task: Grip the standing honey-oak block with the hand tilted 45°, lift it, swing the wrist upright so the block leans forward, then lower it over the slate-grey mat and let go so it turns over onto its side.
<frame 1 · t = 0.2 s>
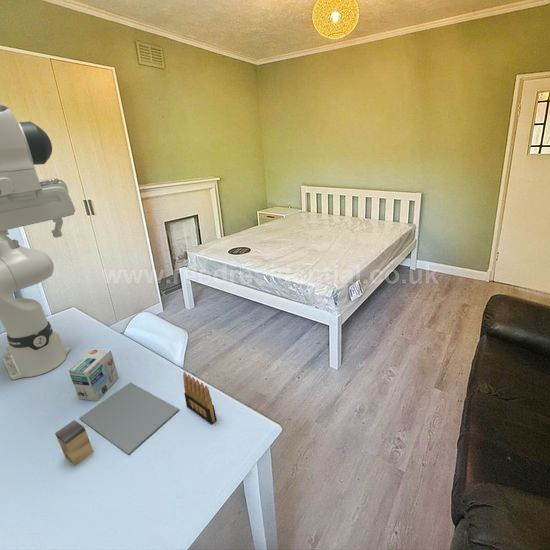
hand: (37, 242, 79), 48 cm above the table, tool pointing down, fingers open, 8 cm apart
slate mat: (129, 414, 90), on the table
ammunition clip: (201, 413, 89), on the table
light bulb box: (100, 388, 101), on the table
oak block: (79, 454, 79), on the table
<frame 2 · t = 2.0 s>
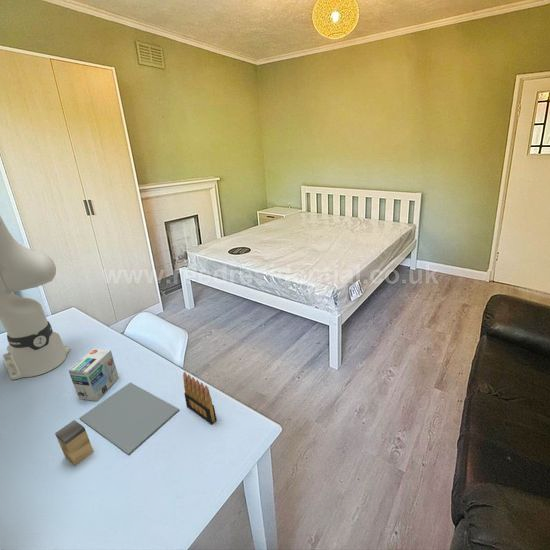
nothing on the table moved.
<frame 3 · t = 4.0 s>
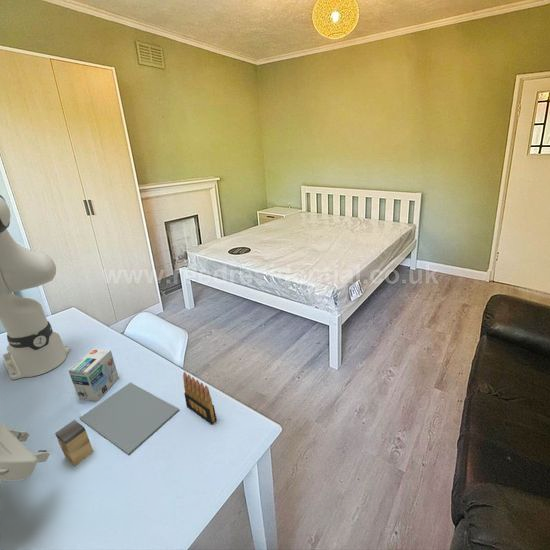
hand: (36, 445, 71), 10 cm above the table, tool tilted 45°, fingers open, 8 cm apart
nothing on the table moved.
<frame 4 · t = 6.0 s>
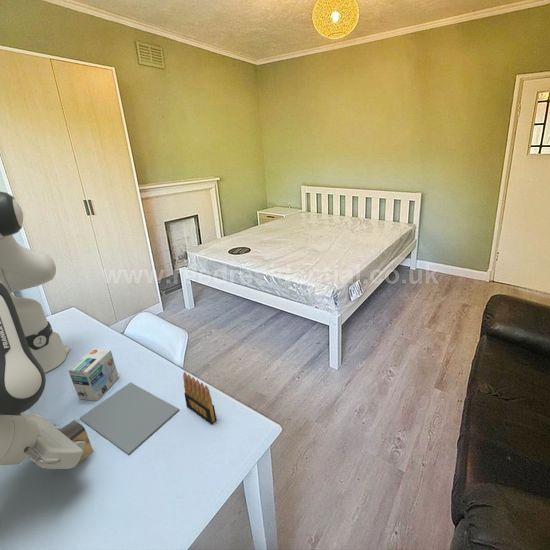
hand: (76, 439, 78), 4 cm above the table, tool tilted 45°, fingers closed on oak block, 4 cm apart
oak block: (79, 454, 79), on the table, touching gripper
everything else where it was.
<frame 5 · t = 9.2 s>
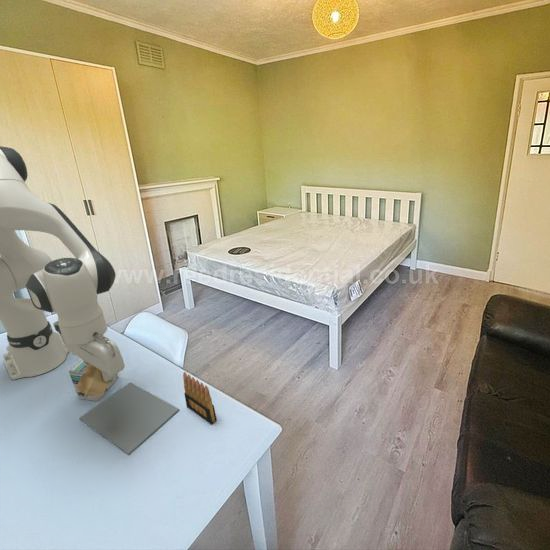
hand: (100, 374, 81), 17 cm above the table, tool pointing down, fingers closed on oak block, 4 cm apart
oak block: (89, 392, 79), point 14 cm above the table, tilted 44°, touching gripper
everything else where it was.
when the fingers open (6 cm above the table, at t = 11.8 s): oak block moves 2 cm and tips over, resting on slate mat.
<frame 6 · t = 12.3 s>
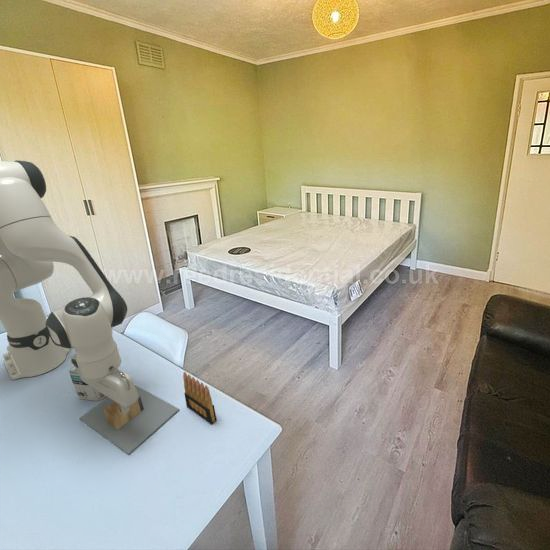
hand: (114, 404, 85), 6 cm above the table, tool pointing down, fingers open, 8 cm apart
oak block: (110, 419, 85), point 3 cm above the table, tilted 90°, touching slate mat
everything else where it was.
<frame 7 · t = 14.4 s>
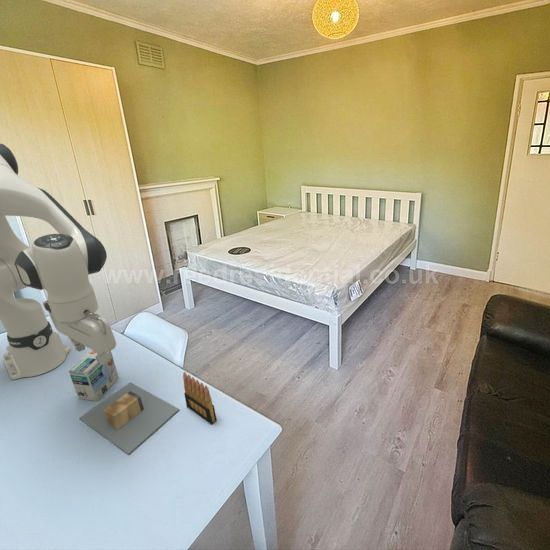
hand: (91, 355, 80), 22 cm above the table, tool pointing down, fingers open, 8 cm apart
nothing on the table moved.
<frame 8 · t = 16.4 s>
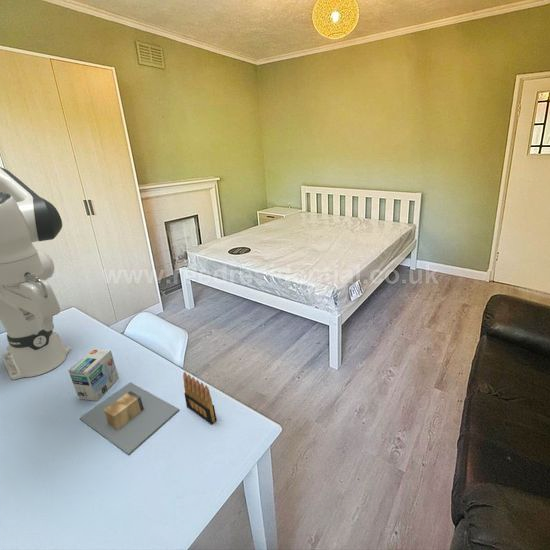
hand: (39, 324, 76), 31 cm above the table, tool pointing down, fingers open, 8 cm apart
nothing on the table moved.
at the end: oak block tilted 90°; oak block inside the target area on the slate mat (5.0 cm from its centre), point 2.7 cm above the slate mat's base; the gripper is holding nothing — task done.
